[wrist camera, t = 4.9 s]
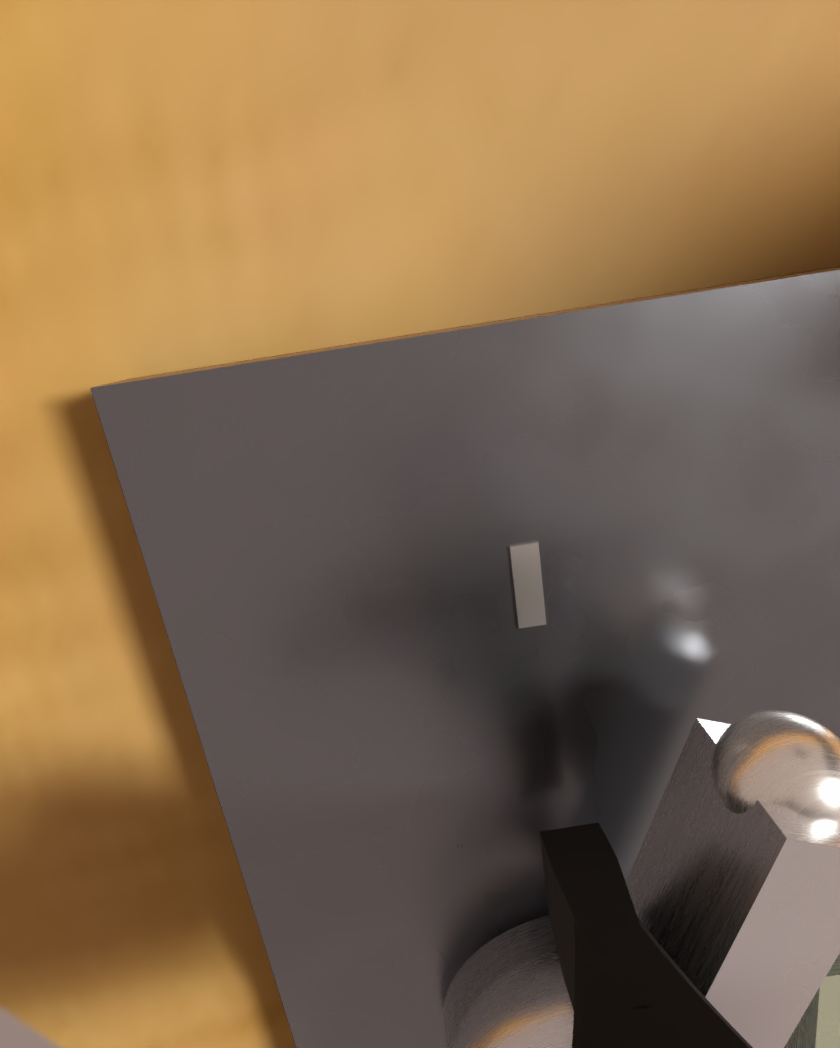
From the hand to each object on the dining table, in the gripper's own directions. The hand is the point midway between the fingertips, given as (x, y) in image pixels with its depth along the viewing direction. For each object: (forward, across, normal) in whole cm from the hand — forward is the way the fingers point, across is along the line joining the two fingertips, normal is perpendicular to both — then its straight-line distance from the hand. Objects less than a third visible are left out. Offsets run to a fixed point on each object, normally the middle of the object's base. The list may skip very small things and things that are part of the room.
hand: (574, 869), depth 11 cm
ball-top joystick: (+1, -1, +2) cm, 3 cm away
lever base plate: (+3, -1, 0) cm, 3 cm away
